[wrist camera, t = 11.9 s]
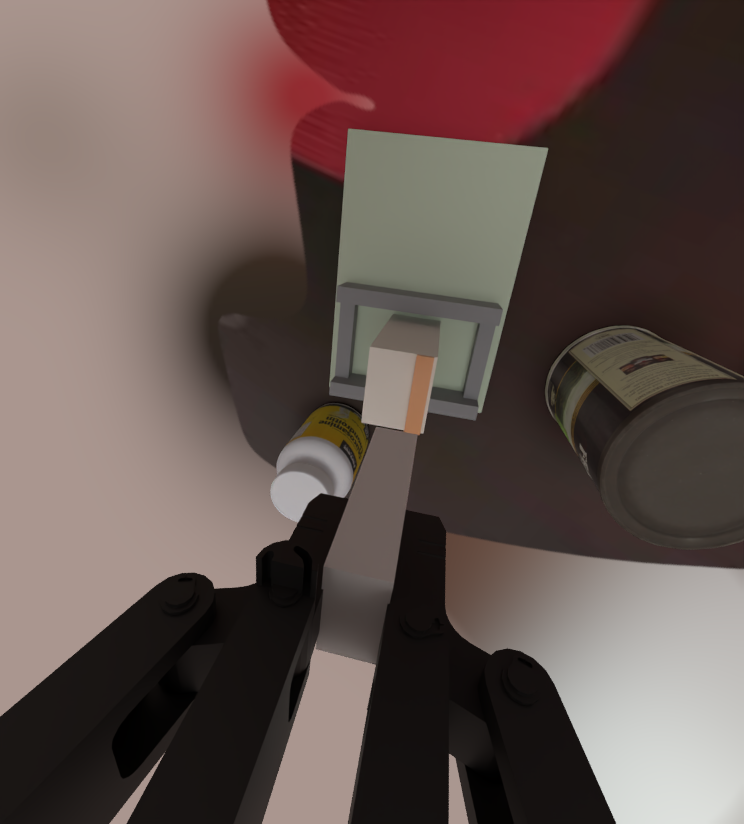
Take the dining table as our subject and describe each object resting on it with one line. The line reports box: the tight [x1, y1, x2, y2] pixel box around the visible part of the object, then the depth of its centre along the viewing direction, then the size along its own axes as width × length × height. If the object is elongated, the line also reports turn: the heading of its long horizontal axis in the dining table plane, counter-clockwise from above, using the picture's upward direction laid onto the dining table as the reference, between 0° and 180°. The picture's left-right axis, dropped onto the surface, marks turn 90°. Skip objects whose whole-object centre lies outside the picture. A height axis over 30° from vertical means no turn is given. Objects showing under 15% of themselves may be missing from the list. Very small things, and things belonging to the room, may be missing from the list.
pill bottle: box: [270, 403, 369, 522], centre depth 35 cm, size 6×6×12 cm
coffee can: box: [545, 325, 744, 550], centre depth 27 cm, size 10×10×14 cm
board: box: [329, 129, 548, 420], centre depth 31 cm, size 20×14×4 cm
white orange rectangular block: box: [361, 314, 441, 435], centre depth 29 cm, size 5×4×11 cm
